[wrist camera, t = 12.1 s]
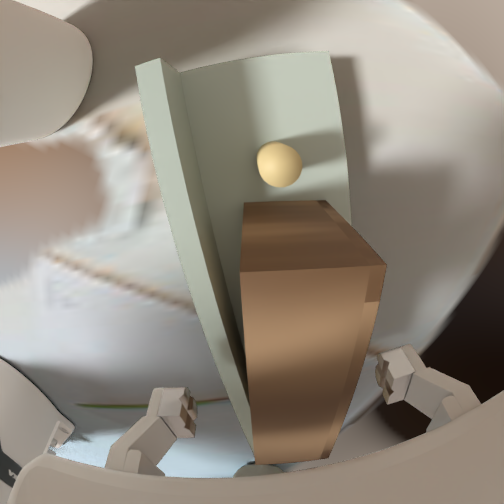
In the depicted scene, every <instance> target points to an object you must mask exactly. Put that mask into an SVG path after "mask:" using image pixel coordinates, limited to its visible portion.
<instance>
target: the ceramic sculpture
mask: <svg viewBox="0 0 504 504" xmlns="http://www.w3.org/2000/svg"><path fill="white" fill-rule="evenodd" d="M279 473H284V472H283V471H282V470H281V469H280V468H278V467H276V466H272V465H268V464H264V465H255V464H251V465H245V466H243V467H241V468H240V469H239V470H238V471H237V472H236V473H235V474H234V476H233V477H249V476H261V475H270V474H279Z"/></svg>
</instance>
